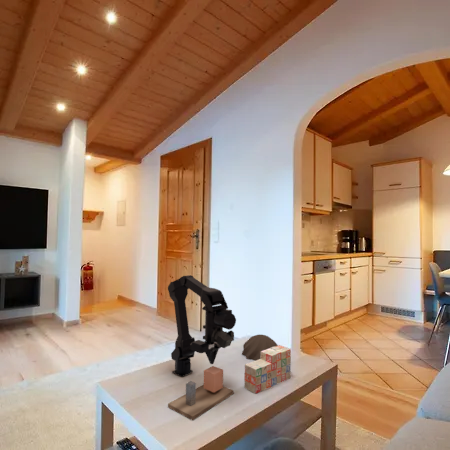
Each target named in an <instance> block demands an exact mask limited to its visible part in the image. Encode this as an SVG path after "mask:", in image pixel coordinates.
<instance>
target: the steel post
mask: <svg viewBox="0 0 450 450" xmlns="http://www.w3.org/2000/svg"><path fill="white" fill-rule="evenodd" d="M196 384H197V383H196V382H194V381H191V380H190V381H188V382H186V383H185V394H186V404H187V405H189V406H192V405H194V404H195V403H196V388H197V385H196Z"/></svg>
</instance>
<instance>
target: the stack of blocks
mask: <svg viewBox="0 0 450 450" xmlns="http://www.w3.org/2000/svg"><path fill="white" fill-rule="evenodd" d="M291 352H292V351H291V348H288V347H285V346H283V345H278V346H276V347H271V348H269V349H266V350H263V351H261V355H260V359H259V360H256V361H254V360H252V361H251V362H247V363H245V365H244V388H245V389H246V390H248V391H250V392H251V393H254V394H258V393H260V392H262V391H264V390H265V391H266V390H267V389H269V388H271V387H273V386H275V385H278V384H280V383H283V382H284V380H285V381H287V380H289V379H291V376H292V375H291V373H292V372H291V363H292V361H291V360H292V359H291V358H292V355H291ZM282 381H283V382H282Z"/></svg>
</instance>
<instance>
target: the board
mask: <svg viewBox="0 0 450 450" xmlns="http://www.w3.org/2000/svg"><path fill="white" fill-rule="evenodd" d="M234 394H235V390H234V389H231V388H229V387H226V386H224V385H223V388H221V389H219V390H218V391H216V392H214V393H213V392H211V391H209V390H207V389H204V383H203V384H202V385H200V386H198V387H196V403H195V404H194V405H192V406H189V405H187V404H186V393H185V394H184V395H181V396H180V397H178V398H176V399H174V400H173V401H171V402H169V403H167V408H169V409H171V410H172V411H174V412H177V413H178V414H180V415H182V416H183V417H186V418H187V419H189V420H190V421H191V420H192V421H194V420H196V419H197V418H199V417H200V416H201V415H203V414H205V413H206V412H209V410H212V408H214V407H215V406H217V405H218V404H220V403H222V402H224V401H225V400H227V399H228V398H230V397H231V396H232V395H234Z"/></svg>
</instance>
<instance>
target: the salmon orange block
mask: <svg viewBox="0 0 450 450" xmlns="http://www.w3.org/2000/svg"><path fill="white" fill-rule="evenodd" d="M203 384H204V389H207V390H209V391H211V392H216V391H218V390H219V389H221V388H223V386H224V369H223V368H220V367H217V366H214V365H211V366H210V367H208V368H206V369H204V370H203Z"/></svg>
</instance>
